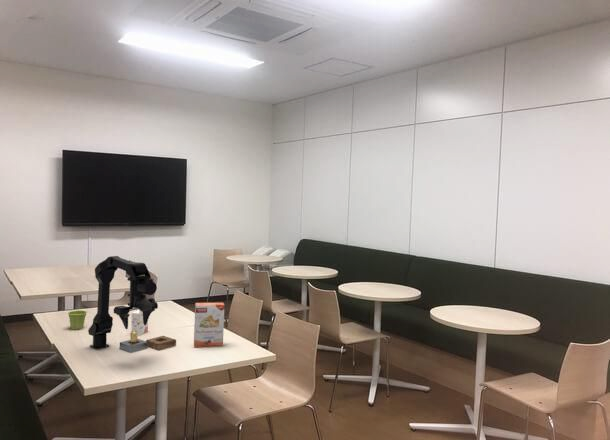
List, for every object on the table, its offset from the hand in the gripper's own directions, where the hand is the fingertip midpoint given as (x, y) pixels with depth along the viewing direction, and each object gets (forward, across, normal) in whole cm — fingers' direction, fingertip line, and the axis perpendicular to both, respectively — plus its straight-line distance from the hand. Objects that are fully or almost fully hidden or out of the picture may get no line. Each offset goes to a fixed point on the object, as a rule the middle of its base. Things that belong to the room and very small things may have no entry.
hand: (135, 327), depth 207 cm
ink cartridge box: (+15, +26, +34) cm, 46 cm away
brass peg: (+15, +9, +14) cm, 22 cm away
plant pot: (+15, +9, +65) cm, 68 cm away
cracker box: (+15, +36, -8) cm, 40 cm away
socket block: (+15, +9, +14) cm, 22 cm away
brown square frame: (+15, +20, +8) cm, 26 cm away
